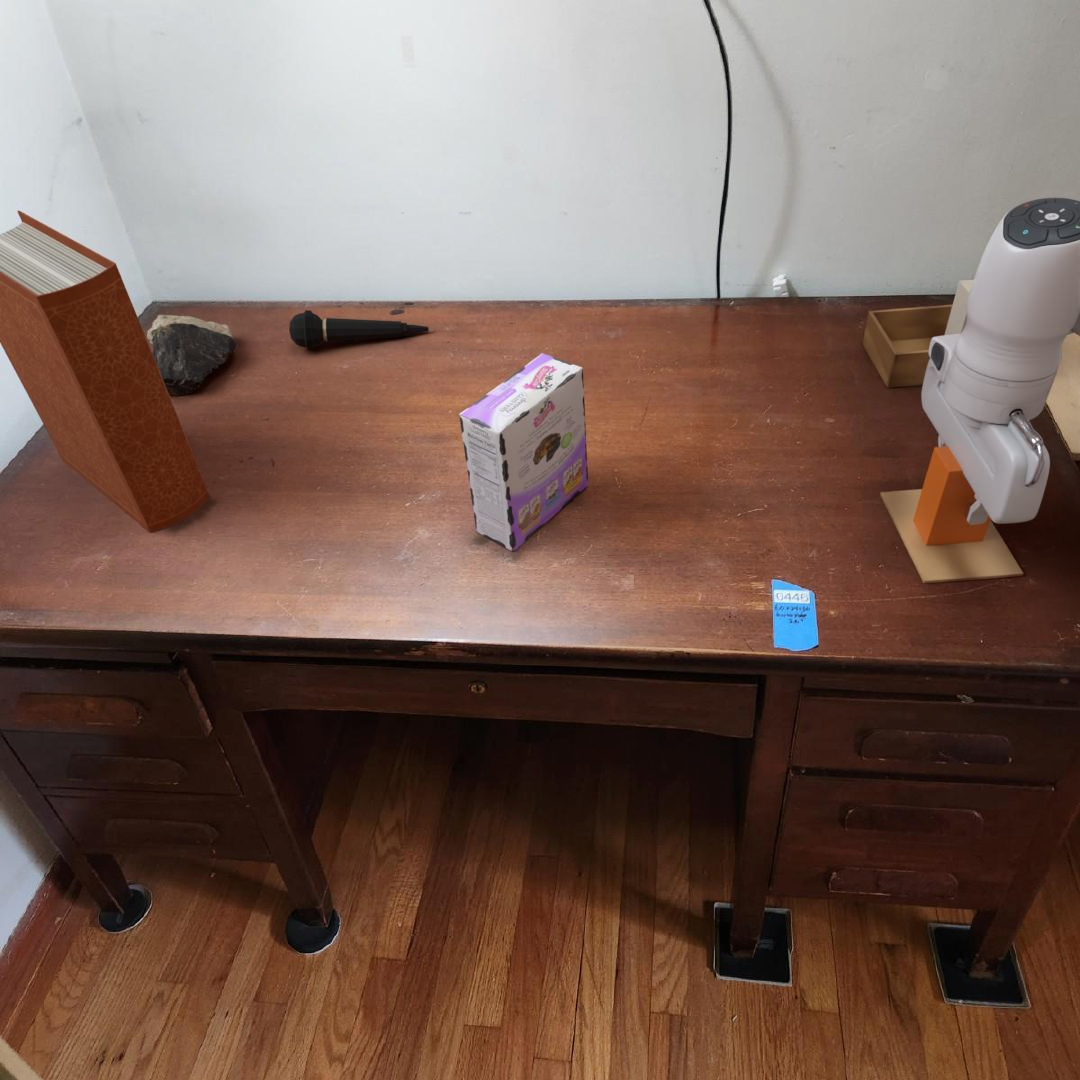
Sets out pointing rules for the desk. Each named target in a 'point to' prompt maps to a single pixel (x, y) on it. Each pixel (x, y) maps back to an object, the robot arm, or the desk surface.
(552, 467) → the candy box
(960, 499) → the block
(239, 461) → the desk surface
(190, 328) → the mineral specimen
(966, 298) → the block
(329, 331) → the microphone
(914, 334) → the wooden box
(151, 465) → the book
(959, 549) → the cork mat
